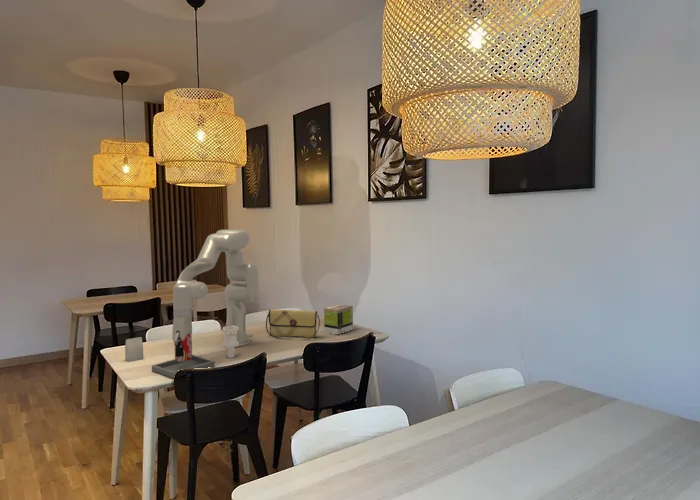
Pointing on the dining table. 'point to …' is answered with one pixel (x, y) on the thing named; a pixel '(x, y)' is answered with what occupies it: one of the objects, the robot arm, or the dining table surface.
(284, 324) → the clutch purse
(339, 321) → the tea box
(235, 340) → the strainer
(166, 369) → the tray
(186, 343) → the soda can
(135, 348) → the grey carton
